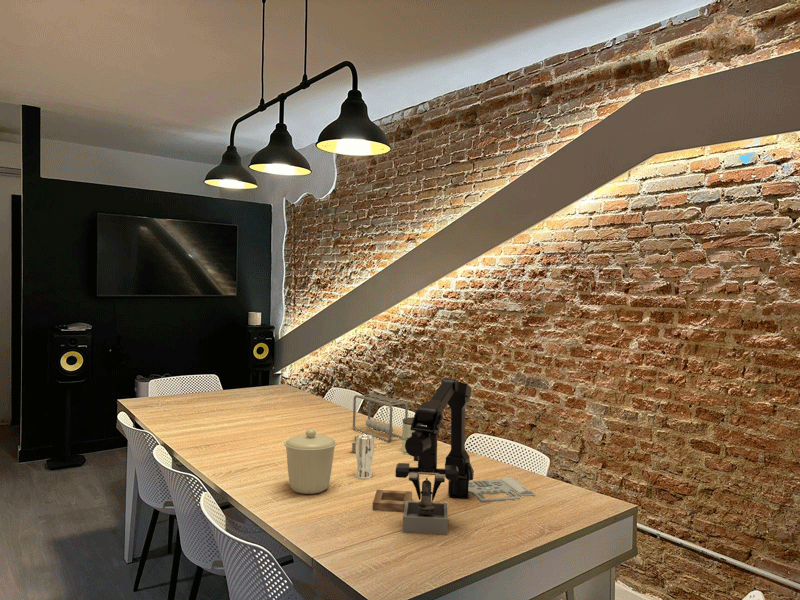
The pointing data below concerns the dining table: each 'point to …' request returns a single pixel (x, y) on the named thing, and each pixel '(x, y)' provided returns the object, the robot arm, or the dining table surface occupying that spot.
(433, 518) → the bin
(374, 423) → the newton's cradle
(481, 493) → the grey cutout plate
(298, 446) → the canister
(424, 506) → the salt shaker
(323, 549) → the dining table surface
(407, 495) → the socket block
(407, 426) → the coffee can
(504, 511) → the dining table surface
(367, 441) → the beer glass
